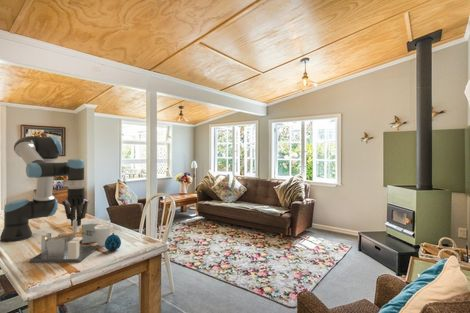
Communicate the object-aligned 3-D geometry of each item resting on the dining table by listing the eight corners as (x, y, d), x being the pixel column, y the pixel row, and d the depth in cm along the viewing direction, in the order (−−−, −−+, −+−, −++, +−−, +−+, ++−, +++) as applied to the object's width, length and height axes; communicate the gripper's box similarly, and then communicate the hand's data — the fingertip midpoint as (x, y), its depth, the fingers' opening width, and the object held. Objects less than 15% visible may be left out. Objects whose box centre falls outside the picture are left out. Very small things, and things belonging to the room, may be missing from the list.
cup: (98, 241, 157) (98, 224, 157) (115, 241, 158) (115, 224, 157) (90, 248, 147) (91, 229, 147) (108, 247, 148) (108, 229, 147)
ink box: (83, 239, 161) (83, 220, 160) (98, 237, 164) (98, 219, 164) (81, 244, 153) (81, 224, 153) (97, 242, 156) (97, 223, 156)
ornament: (104, 253, 140) (104, 235, 140) (104, 250, 144) (105, 232, 144) (120, 251, 143) (121, 233, 143) (120, 248, 148) (121, 231, 147)
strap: (45, 241, 134) (44, 240, 134) (47, 240, 136) (47, 238, 136) (79, 233, 136) (79, 232, 136) (81, 232, 138) (81, 230, 138)
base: (29, 262, 126) (30, 240, 126) (53, 248, 144) (53, 229, 144) (80, 262, 128) (80, 240, 128) (96, 248, 146) (97, 229, 146)
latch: (67, 259, 128) (68, 241, 128) (74, 253, 134) (75, 237, 134) (76, 259, 128) (76, 241, 128) (82, 253, 134) (83, 237, 134)
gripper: (58, 189, 132) (58, 234, 132) (85, 188, 133) (85, 233, 133) (66, 187, 139) (66, 230, 140) (92, 187, 140) (92, 229, 140)
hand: (76, 231), depth 136 cm, fingers closed, pressing on strap
